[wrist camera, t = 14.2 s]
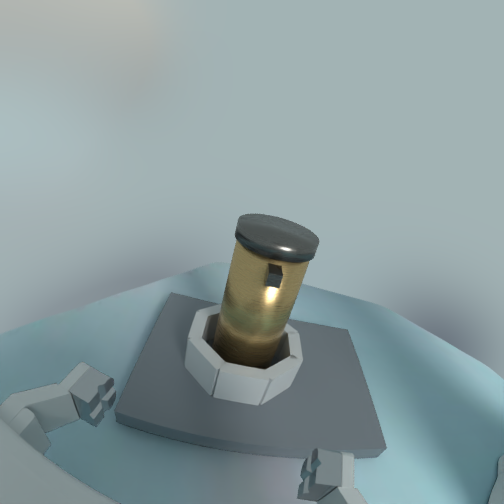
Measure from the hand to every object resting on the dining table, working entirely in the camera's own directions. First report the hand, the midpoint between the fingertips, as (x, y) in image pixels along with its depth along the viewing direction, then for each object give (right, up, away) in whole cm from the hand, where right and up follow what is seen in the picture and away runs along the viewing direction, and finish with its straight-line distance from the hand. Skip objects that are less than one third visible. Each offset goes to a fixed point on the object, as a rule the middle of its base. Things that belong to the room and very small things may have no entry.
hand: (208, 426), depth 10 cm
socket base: (+2, -5, +15) cm, 16 cm away
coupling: (+1, -3, +14) cm, 14 cm away
